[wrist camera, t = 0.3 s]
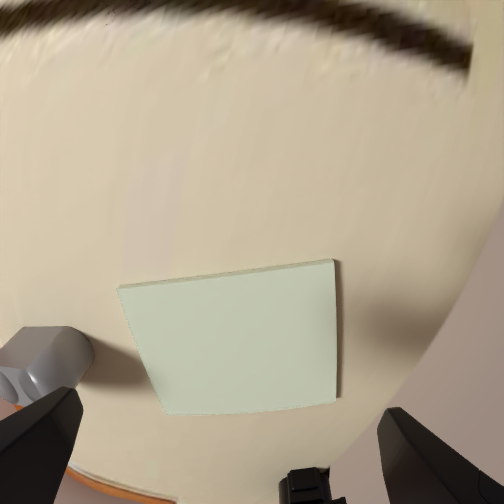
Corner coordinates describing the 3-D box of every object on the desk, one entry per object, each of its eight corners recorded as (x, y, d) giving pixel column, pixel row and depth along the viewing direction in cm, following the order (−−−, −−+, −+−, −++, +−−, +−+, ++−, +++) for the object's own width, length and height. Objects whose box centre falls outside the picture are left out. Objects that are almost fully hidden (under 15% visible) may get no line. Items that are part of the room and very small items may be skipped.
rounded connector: (101, 366, 22) (71, 415, 17) (19, 361, 23) (-12, 397, 17) (83, 325, 21) (45, 372, 15) (2, 326, 22) (-33, 360, 16)
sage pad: (334, 396, 23) (335, 401, 22) (167, 410, 24) (166, 415, 23) (331, 258, 19) (334, 262, 18) (119, 285, 20) (116, 289, 19)
